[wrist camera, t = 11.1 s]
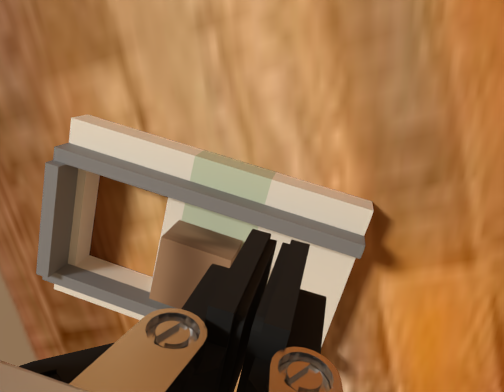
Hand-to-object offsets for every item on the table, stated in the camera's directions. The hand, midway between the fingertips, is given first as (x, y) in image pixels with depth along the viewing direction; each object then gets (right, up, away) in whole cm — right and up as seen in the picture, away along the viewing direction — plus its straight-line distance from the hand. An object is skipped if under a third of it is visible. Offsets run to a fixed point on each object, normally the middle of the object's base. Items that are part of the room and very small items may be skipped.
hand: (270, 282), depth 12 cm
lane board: (-5, -2, +29) cm, 29 cm away
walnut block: (-5, -3, +26) cm, 27 cm away
